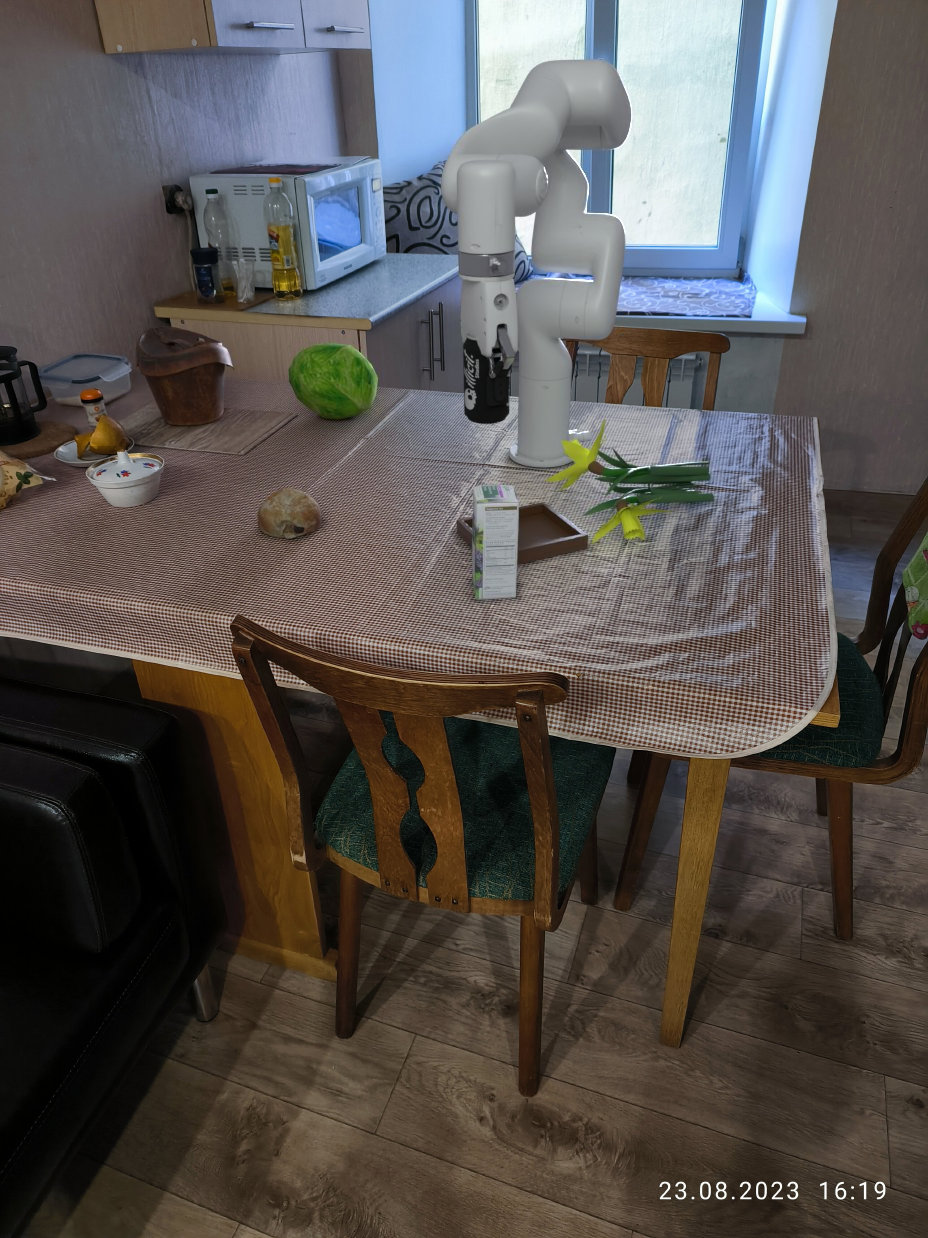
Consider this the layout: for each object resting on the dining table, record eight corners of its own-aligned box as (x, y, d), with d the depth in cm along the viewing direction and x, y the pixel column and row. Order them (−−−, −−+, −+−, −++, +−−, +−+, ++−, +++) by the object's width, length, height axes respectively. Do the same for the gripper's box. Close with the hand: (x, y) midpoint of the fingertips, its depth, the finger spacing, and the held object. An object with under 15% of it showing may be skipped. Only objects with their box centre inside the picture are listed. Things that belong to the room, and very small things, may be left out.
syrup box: (471, 580, 122) (470, 485, 114) (512, 578, 122) (514, 482, 115) (475, 600, 117) (474, 502, 109) (518, 598, 117) (520, 500, 110)
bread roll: (268, 560, 136) (268, 527, 129) (248, 514, 140) (247, 479, 134) (327, 546, 140) (330, 513, 133) (306, 501, 144) (308, 467, 138)
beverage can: (504, 426, 122) (505, 340, 116) (459, 423, 124) (458, 338, 117) (512, 411, 128) (513, 328, 121) (469, 409, 129) (468, 327, 123)
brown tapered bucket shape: (230, 430, 178) (216, 342, 169) (135, 431, 178) (115, 343, 169) (250, 403, 193) (237, 321, 184) (162, 404, 194) (145, 322, 184)
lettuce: (401, 405, 189) (367, 339, 190) (373, 385, 169) (334, 312, 170) (337, 444, 193) (303, 380, 194) (302, 429, 173) (264, 357, 174)
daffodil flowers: (752, 520, 139) (625, 532, 115) (676, 542, 149) (544, 557, 125) (729, 419, 139) (598, 410, 115) (655, 448, 150) (520, 445, 126)
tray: (544, 514, 140) (544, 501, 139) (587, 548, 130) (588, 534, 128) (456, 533, 135) (456, 519, 134) (494, 570, 124) (494, 556, 123)
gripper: (541, 272, 109) (537, 410, 118) (486, 253, 123) (486, 378, 132) (487, 278, 107) (487, 418, 116) (437, 257, 120) (441, 384, 130)
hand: (487, 396), depth 124 cm, fingers closed on beverage can, 6 cm apart
